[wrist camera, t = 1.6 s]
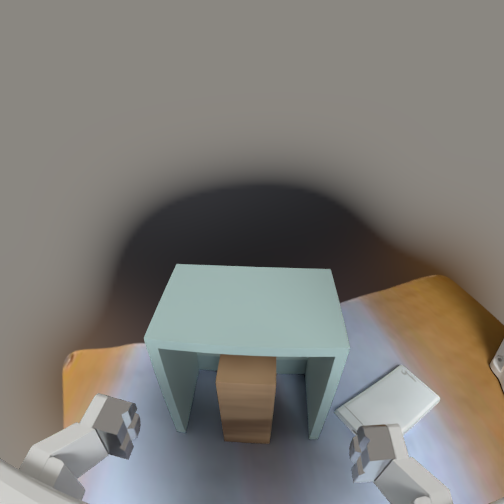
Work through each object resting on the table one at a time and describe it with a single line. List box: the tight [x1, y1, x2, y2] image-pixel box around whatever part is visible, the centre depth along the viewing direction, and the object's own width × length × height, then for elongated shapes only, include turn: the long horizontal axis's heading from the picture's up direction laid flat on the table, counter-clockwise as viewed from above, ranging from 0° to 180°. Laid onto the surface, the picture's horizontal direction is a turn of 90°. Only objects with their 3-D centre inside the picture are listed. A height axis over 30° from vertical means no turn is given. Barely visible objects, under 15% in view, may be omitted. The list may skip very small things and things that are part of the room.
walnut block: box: [216, 354, 276, 444], centre depth 30 cm, size 5×5×12 cm
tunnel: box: [144, 264, 350, 439], centre depth 32 cm, size 11×16×16 cm
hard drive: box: [334, 365, 440, 436], centre depth 33 cm, size 2×8×12 cm
